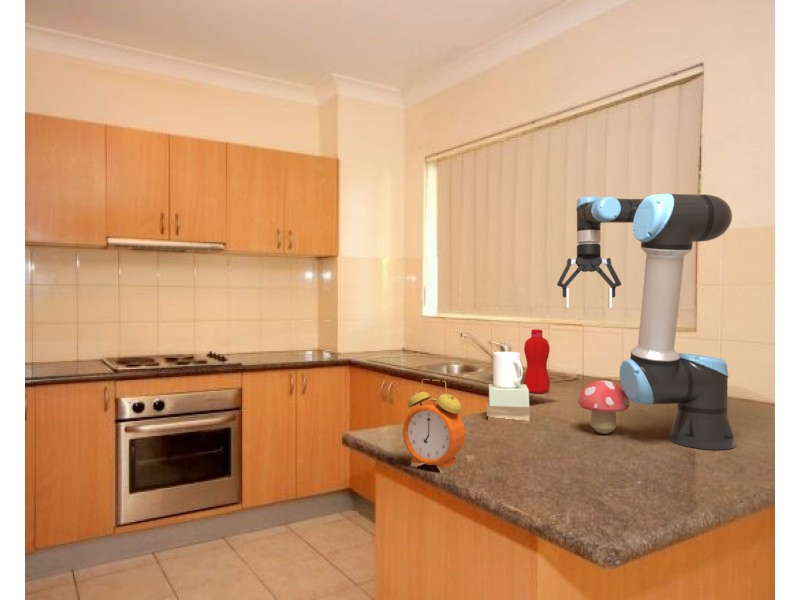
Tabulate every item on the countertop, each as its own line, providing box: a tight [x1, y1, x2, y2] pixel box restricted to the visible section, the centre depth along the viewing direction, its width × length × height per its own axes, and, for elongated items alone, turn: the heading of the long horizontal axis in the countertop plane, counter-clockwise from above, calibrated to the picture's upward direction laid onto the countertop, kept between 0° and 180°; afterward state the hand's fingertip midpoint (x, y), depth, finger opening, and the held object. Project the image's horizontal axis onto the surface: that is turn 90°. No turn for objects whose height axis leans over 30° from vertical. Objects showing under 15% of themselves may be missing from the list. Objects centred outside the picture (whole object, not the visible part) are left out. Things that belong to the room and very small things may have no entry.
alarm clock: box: [402, 378, 466, 468], centre depth 128 cm, size 13×6×20 cm, turn 56°
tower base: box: [486, 399, 531, 421], centre depth 180 cm, size 13×13×5 cm
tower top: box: [488, 383, 530, 407], centre depth 180 cm, size 12×12×5 cm
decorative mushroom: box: [578, 379, 630, 435], centre depth 158 cm, size 13×13×15 cm
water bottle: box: [523, 328, 551, 395], centre depth 225 cm, size 9×11×25 cm
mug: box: [492, 351, 524, 388], centre depth 179 cm, size 9×12×11 cm
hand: (588, 307), depth 188 cm, fingers open, 13 cm apart
